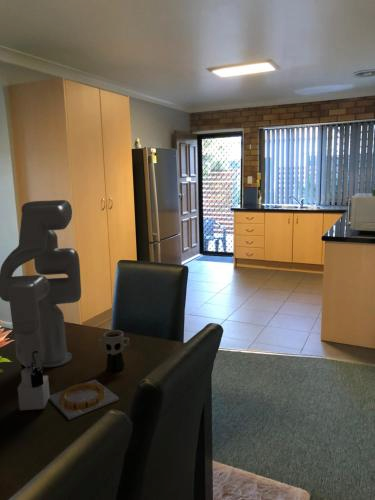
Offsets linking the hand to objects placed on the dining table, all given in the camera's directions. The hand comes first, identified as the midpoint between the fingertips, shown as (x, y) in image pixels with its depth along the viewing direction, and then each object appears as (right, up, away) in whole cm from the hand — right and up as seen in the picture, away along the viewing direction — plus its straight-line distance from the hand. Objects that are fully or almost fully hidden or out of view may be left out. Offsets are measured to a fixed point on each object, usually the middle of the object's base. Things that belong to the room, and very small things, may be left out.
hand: (32, 380), depth 123 cm
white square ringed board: (+14, -7, +5) cm, 16 cm away
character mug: (+20, -4, +25) cm, 33 cm away
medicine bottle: (0, -8, +1) cm, 8 cm away
